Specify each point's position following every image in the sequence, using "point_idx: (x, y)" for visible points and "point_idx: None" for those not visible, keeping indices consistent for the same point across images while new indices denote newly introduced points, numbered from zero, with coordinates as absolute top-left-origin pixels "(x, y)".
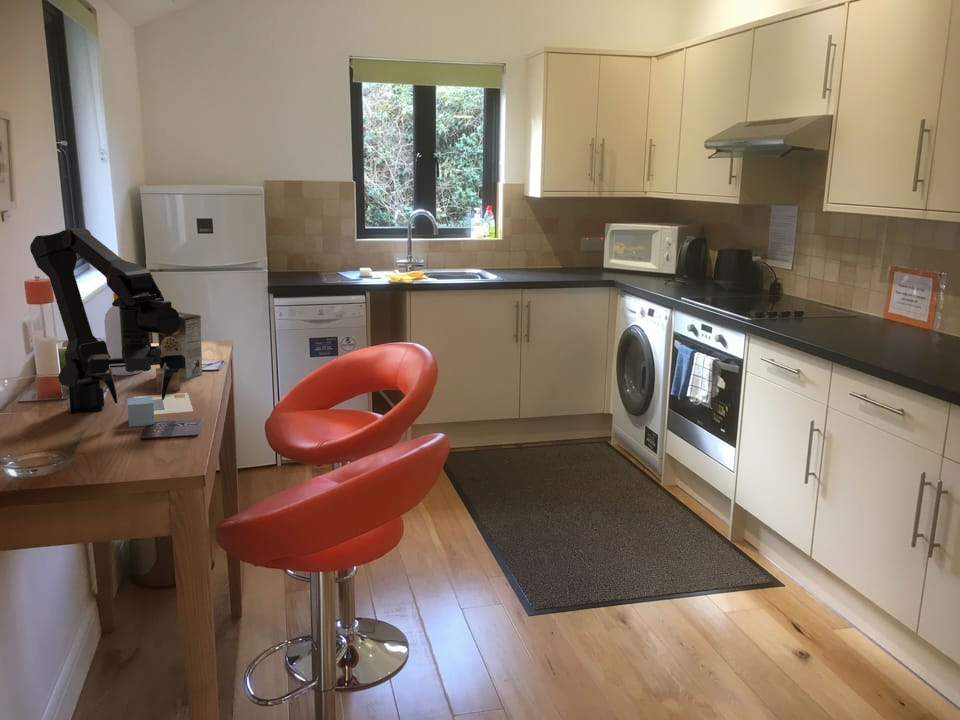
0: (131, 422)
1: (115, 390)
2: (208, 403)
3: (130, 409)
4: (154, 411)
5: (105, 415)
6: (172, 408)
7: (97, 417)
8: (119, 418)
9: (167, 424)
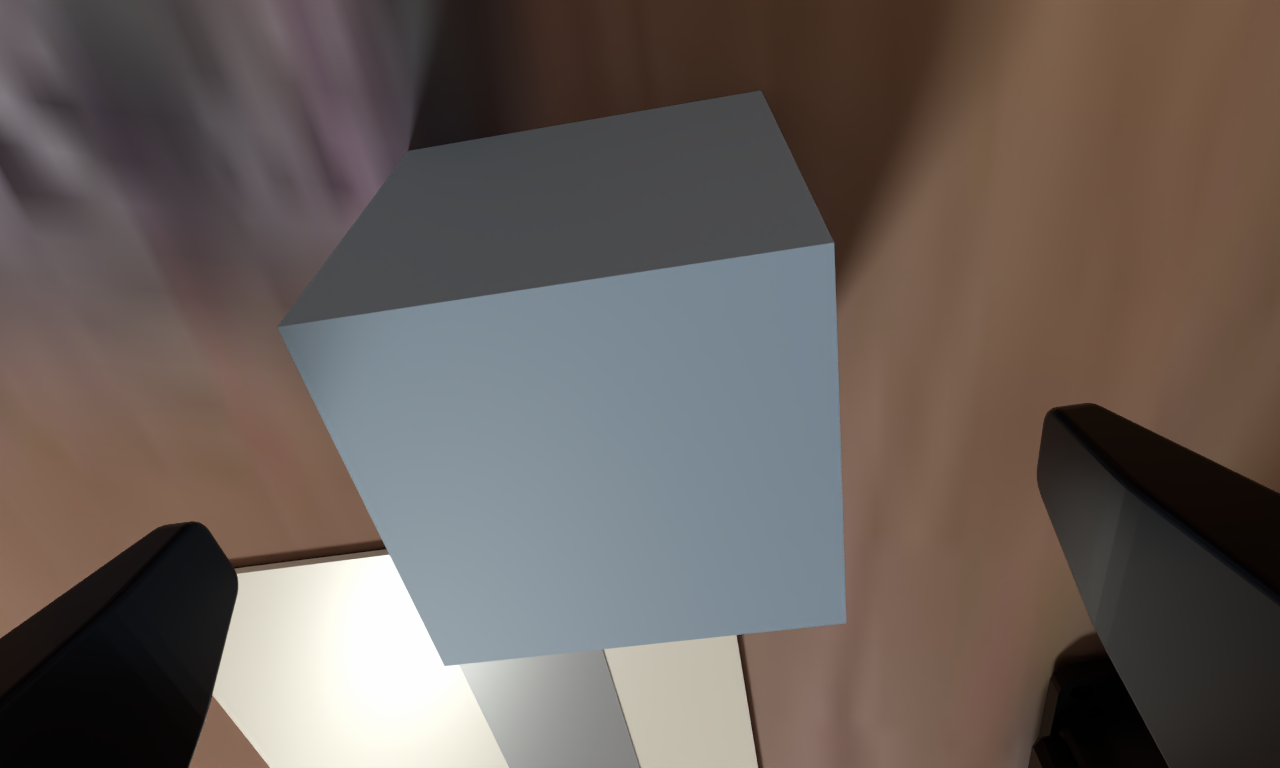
0: (728, 121)
1: (1228, 656)
2: None
3: (759, 204)
4: None
5: (1029, 569)
6: (386, 670)
7: None
8: (891, 470)
9: (232, 169)
